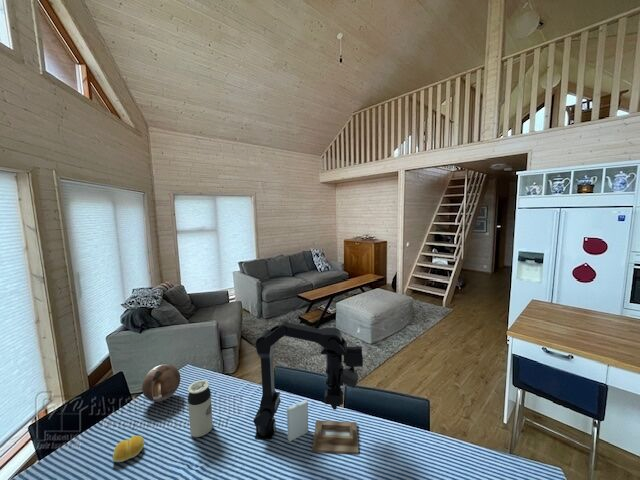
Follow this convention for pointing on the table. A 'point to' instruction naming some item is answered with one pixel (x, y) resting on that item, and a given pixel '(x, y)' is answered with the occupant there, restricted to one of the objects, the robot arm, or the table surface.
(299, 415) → the external hard drive
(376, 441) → the table surface
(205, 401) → the travel mug
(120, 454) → the bread roll
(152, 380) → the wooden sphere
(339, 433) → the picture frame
